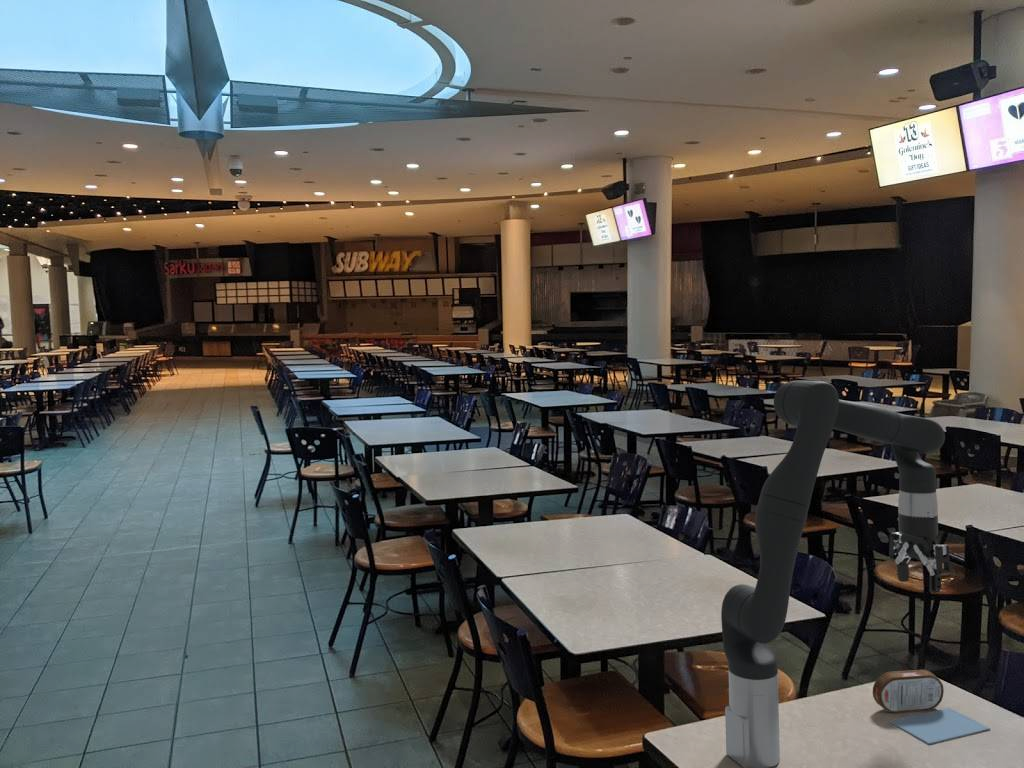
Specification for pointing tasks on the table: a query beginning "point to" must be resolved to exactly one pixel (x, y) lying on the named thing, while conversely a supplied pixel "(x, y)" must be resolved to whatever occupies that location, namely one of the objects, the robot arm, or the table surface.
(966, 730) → the mat
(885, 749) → the table surface
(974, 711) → the table surface
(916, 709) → the tin
